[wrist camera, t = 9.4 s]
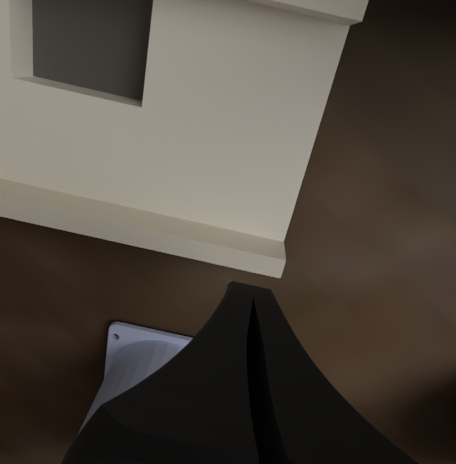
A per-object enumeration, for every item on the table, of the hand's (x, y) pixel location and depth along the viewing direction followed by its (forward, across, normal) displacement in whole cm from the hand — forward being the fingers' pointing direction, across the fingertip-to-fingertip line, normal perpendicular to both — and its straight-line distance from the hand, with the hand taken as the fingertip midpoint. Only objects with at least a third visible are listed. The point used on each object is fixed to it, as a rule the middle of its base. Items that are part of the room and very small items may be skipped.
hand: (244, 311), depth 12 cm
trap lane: (+10, +12, -4) cm, 16 cm away
